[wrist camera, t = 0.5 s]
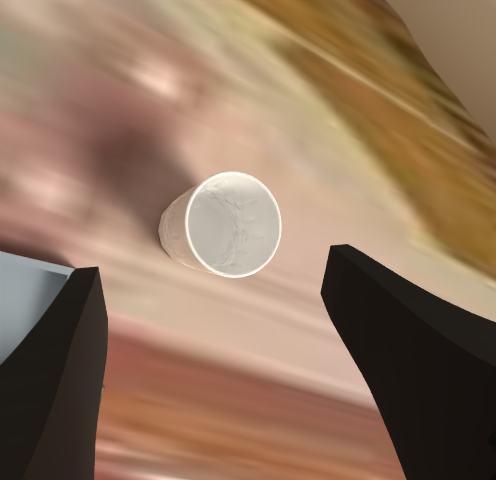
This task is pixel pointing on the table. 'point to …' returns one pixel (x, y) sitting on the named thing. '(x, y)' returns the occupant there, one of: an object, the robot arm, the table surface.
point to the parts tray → (25, 296)
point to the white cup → (223, 225)
